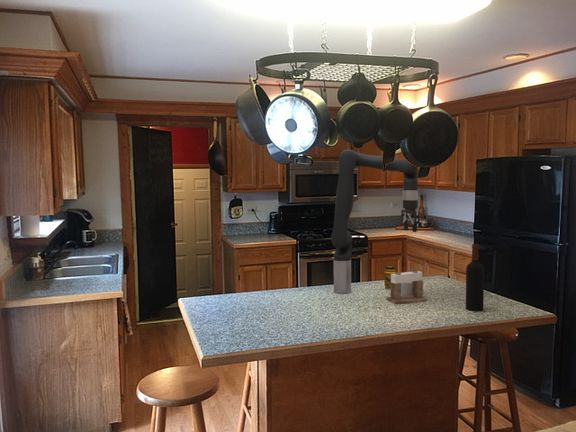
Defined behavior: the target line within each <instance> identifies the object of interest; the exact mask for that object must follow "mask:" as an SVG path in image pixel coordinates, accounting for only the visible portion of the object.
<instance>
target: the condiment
mask: <svg viewBox="0 0 576 432" xmlns="http://www.w3.org/2000/svg"><path fill="white" fill-rule="evenodd" d="M395 273H397V272H396V267H395V266H394V265H387V266H385V267H384V275H383V276H384V286H385V289H384V290H387V289H391V274H395ZM380 287H381V289H383V288H382V287H383V286H380Z"/></svg>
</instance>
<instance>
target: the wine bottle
mask: <svg viewBox="0 0 576 432" xmlns="http://www.w3.org/2000/svg"><path fill="white" fill-rule="evenodd" d="M479 247H480V245H479V244H478V243H472V244H471V261H470V262H469V263H468V264H467V265H466V266H465V267H466V269H465V310H466V311H469V312H483V311H484V301H485V300H484V296H485V295H484V292H485V291H484V289H485V288H484V287H485V285H484V284H485V283H484V282H485V267H484V266H483V264H482V263H481V262H480V261H479V250H480V249H479Z"/></svg>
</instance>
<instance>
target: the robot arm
mask: <svg viewBox="0 0 576 432" xmlns="http://www.w3.org/2000/svg"><path fill="white" fill-rule="evenodd" d="M383 156H384V155H372V154H371V155H370V154H364V153H361V152H358V151H354V150H353V149H344V150H342V151H341V152H340V154H339V155H338V182H337V187H336V195H335V203H334V205H335V207H334V208H335V209H334V218H333V219H334V221H333V227H332V230H331V231H332V232H331V237H330V239H331V243H332V245H333V247H335V251H334V253H333V292H334V293H336V294H349V293H351V292H352V255H353V254H352V253H353V235H352V233H351V231H349V230H348V223H349V218H350V216H351V213H352V210H353V207H354V201H355V187H354V186H355V185H354V172H355V167H363V168H371V169H375V170H382V171H386V172H399V173H403V182H402V209H401V210H400V211H401V212H400V213H401V215H400V219H401V220H400V221H401V222H402V223H403V230H404V231H408V230H409V221H411V224H412V230H411V231H412V232H413V233H417V232H418V225H419V224H420V222H421V221H420V220H421V218H420V211H416V210H417V209H418V208H419V192H418V168H419V166H418V167H415V166H414V165H412V164H411V163H409V162H408V161H407V160H406V159H407V158H398V157H394V158H395V159H394V161H393V162H391V163H388V164H387V165H386V168H385V170H383V163H382V161H383Z"/></svg>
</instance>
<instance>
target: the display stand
mask: <svg viewBox="0 0 576 432" xmlns="http://www.w3.org/2000/svg"><path fill="white" fill-rule="evenodd" d="M386 300H387V301H389V302H391V303H392V304H394V305H403V304H405V305H406V304H413V303H424V302H428V298H427V297H424V280H423V279H422V280H420V281H412V295H401V283H396V284H395V283H392V282H391V290H390V296H386Z"/></svg>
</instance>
